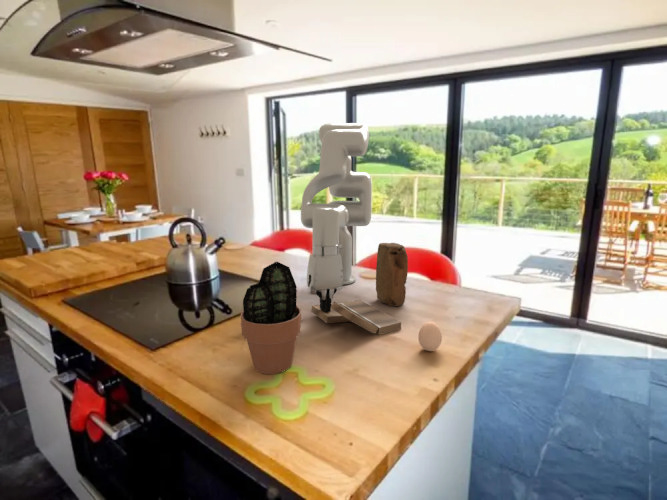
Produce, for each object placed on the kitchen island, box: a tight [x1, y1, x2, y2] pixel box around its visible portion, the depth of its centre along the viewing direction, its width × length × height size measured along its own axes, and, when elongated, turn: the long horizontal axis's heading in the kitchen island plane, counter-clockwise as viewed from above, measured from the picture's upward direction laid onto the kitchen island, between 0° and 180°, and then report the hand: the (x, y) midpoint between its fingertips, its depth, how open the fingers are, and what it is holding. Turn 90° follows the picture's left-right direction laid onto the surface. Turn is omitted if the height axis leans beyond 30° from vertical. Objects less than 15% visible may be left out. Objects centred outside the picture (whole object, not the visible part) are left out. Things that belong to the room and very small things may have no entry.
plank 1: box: [310, 303, 352, 324], centre depth 117 cm, size 10×10×2 cm
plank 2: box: [331, 301, 378, 335], centre depth 108 cm, size 10×10×2 cm
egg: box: [417, 321, 443, 352], centre depth 98 cm, size 6×6×8 cm
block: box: [375, 242, 409, 307], centre depth 129 cm, size 11×8×20 cm
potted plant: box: [240, 261, 302, 375], centre depth 88 cm, size 14×14×25 cm
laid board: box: [339, 299, 402, 335], centre depth 118 cm, size 21×8×2 cm, turn 30°
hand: (325, 310), depth 115 cm, fingers closed
